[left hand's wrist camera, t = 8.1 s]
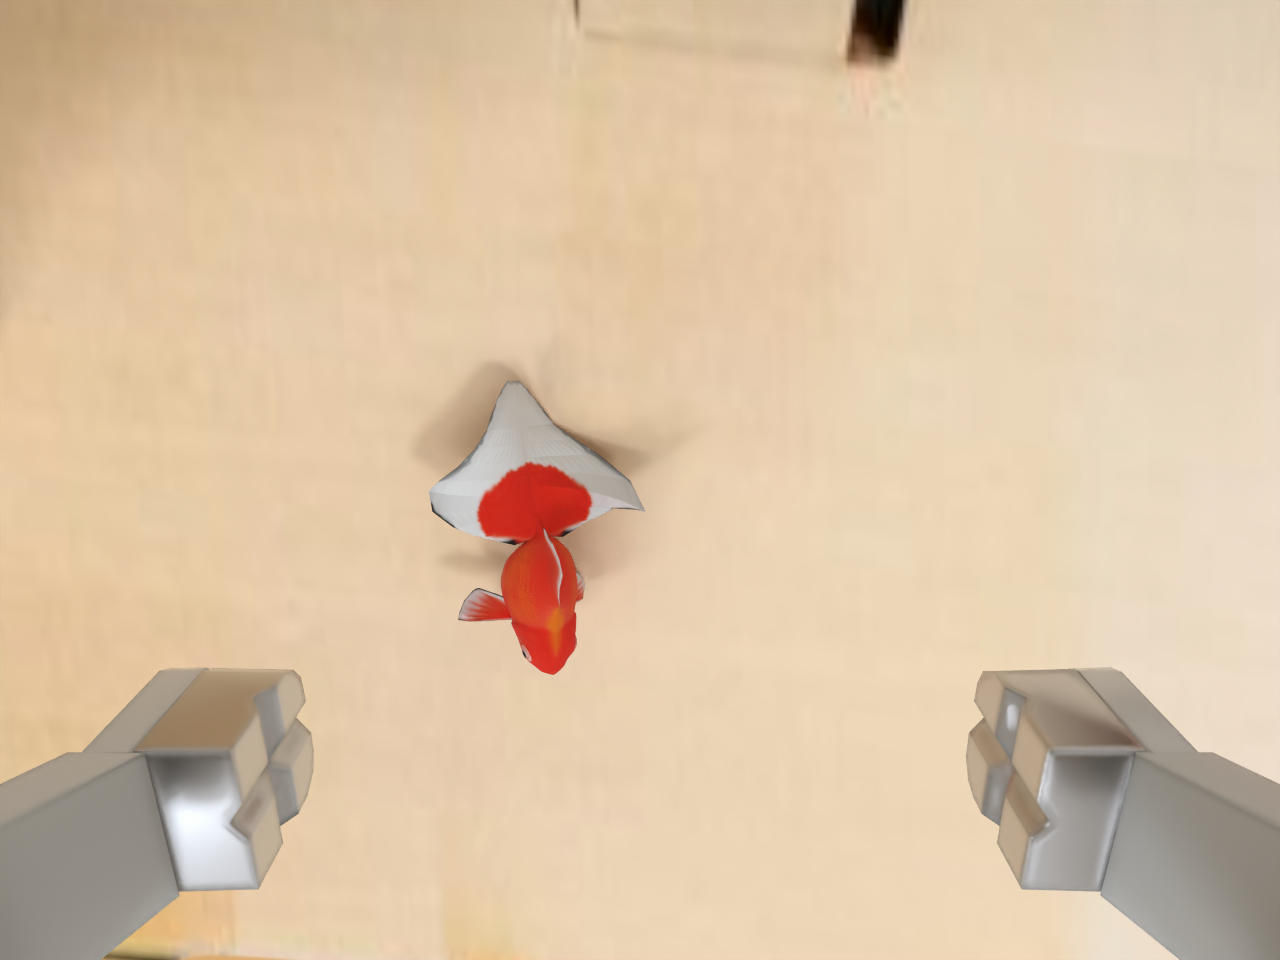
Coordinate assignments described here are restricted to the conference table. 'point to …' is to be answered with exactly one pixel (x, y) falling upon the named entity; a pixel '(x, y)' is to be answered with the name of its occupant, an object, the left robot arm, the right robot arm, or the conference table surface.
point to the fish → (530, 519)
